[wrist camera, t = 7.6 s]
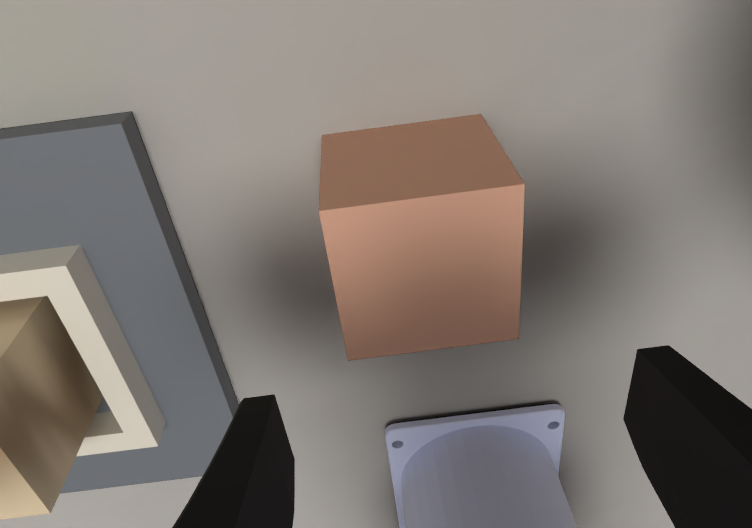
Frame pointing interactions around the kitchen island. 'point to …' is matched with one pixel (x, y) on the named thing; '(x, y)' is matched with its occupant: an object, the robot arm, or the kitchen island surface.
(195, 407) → the slate baseplate
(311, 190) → the kitchen island surface
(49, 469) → the oak block
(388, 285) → the terracotta block
